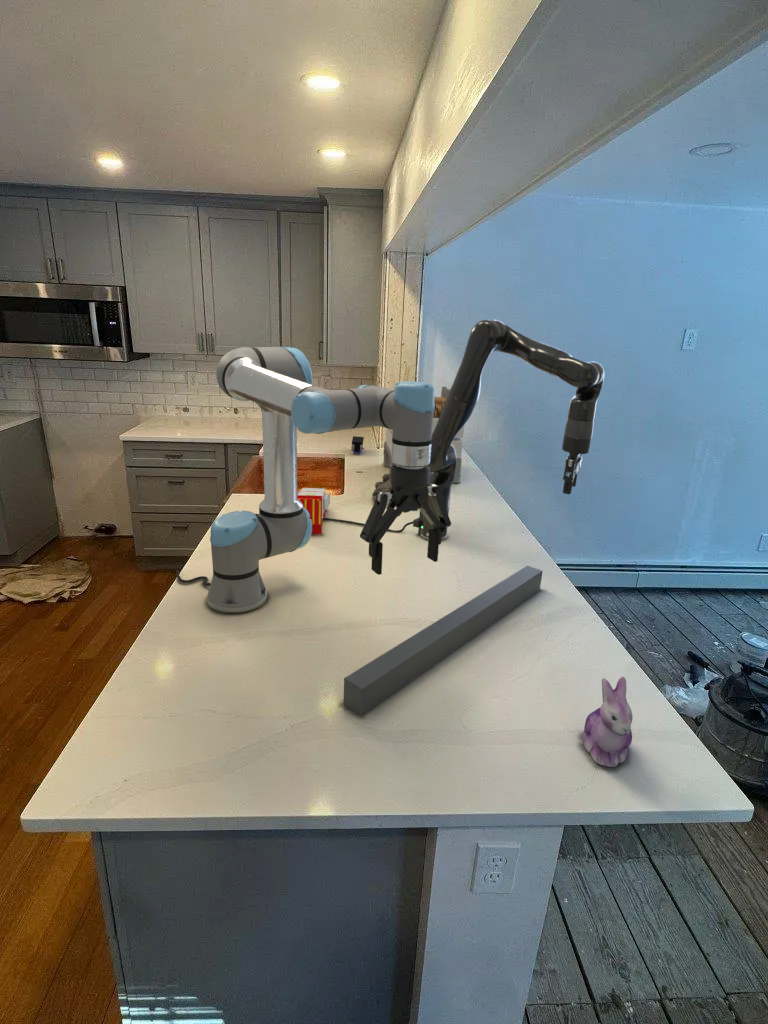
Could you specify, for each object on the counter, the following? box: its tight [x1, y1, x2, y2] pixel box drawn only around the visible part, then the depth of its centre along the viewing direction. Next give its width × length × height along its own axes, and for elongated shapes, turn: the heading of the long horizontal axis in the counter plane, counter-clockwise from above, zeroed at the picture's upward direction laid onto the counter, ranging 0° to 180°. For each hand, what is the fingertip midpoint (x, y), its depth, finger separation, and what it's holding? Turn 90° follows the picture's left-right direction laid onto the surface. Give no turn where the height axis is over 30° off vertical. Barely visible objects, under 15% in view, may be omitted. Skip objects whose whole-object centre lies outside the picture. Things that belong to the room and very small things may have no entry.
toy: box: [297, 487, 331, 535], centre depth 207 cm, size 12×13×30 cm
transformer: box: [383, 386, 465, 484], centre depth 268 cm, size 34×33×41 cm
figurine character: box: [350, 435, 364, 455], centre depth 308 cm, size 7×8×15 cm
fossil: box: [371, 472, 391, 504], centre depth 236 cm, size 22×10×15 cm
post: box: [343, 565, 544, 716], centre depth 137 cm, size 75×5×6 cm, turn 139°
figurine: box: [582, 676, 633, 768], centre depth 102 cm, size 9×10×15 cm
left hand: (405, 565), depth 116 cm, fingers open, 13 cm apart
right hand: (569, 489), depth 165 cm, fingers open, 8 cm apart
